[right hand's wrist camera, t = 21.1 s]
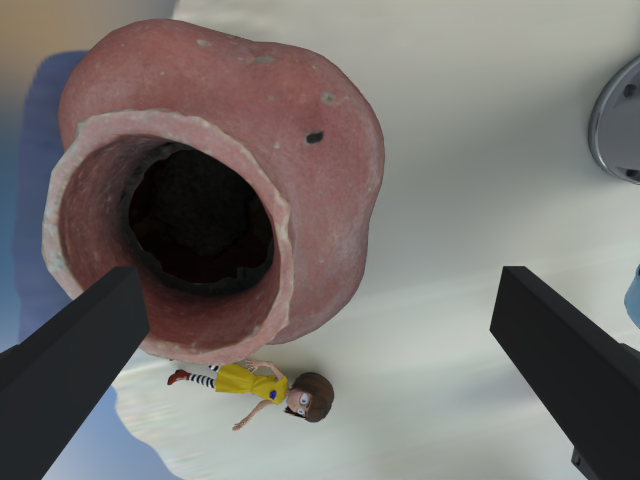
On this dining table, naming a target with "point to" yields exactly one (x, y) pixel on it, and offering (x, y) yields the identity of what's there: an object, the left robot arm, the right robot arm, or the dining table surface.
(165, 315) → the clay pot
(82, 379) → the right robot arm
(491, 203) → the dining table surface
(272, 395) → the figurine
